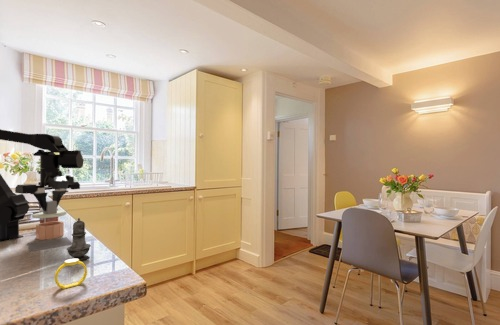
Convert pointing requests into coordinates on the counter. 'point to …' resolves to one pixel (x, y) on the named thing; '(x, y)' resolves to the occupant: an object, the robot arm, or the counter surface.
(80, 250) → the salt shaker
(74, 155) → the robot arm
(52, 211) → the lid
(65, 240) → the mat
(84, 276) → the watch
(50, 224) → the bowl
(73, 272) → the counter surface
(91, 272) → the counter surface
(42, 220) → the pill bottle
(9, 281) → the counter surface
